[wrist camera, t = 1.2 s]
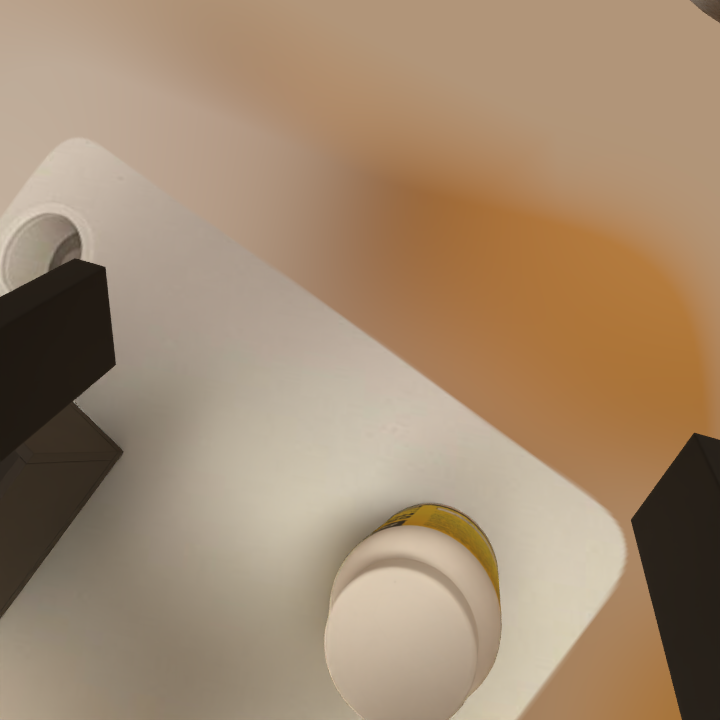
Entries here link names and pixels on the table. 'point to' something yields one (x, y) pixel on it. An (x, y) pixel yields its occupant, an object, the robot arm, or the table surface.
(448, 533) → the pill bottle
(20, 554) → the basket
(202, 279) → the table surface
